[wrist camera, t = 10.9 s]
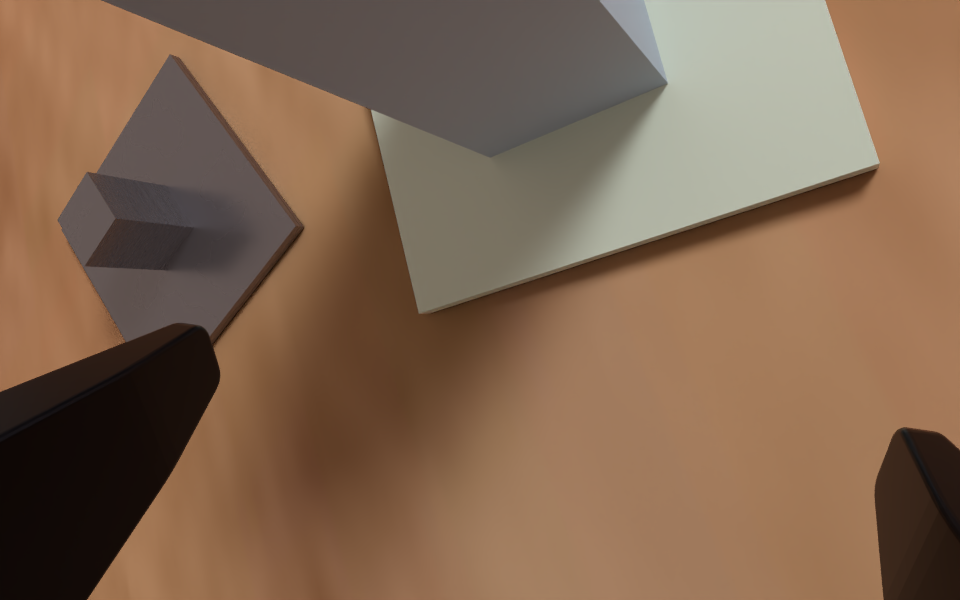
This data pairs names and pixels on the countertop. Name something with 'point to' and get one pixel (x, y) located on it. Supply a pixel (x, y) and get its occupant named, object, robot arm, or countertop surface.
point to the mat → (637, 154)
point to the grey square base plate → (177, 215)
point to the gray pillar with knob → (442, 57)
